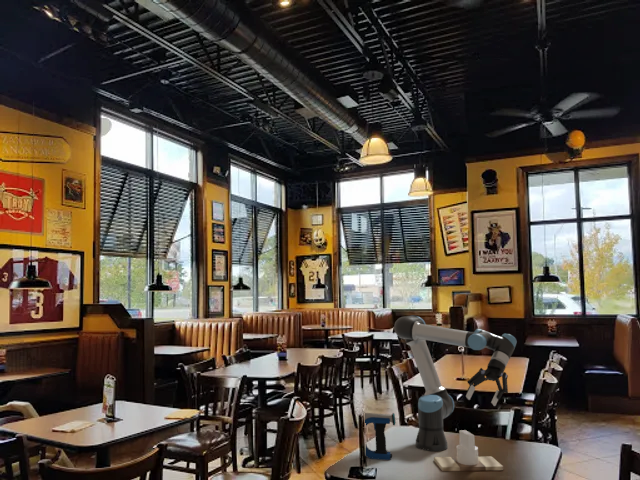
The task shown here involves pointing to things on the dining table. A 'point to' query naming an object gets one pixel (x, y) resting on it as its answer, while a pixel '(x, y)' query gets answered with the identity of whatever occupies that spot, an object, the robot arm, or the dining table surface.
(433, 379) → the robot arm
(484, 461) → the pine board
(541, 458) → the dining table surface
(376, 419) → the cordless power drill
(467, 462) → the base with upright slab
